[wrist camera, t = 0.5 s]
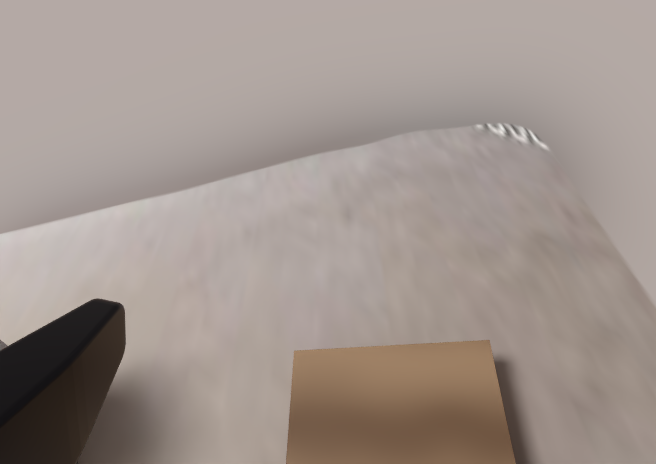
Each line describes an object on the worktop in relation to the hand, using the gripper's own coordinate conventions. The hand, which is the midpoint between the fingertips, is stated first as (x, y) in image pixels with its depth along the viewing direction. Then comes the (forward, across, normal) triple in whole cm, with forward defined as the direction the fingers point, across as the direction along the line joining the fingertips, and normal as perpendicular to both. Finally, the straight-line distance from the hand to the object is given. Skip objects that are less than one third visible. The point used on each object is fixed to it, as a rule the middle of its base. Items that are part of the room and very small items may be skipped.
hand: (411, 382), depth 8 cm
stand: (+8, -4, +14) cm, 16 cm away
